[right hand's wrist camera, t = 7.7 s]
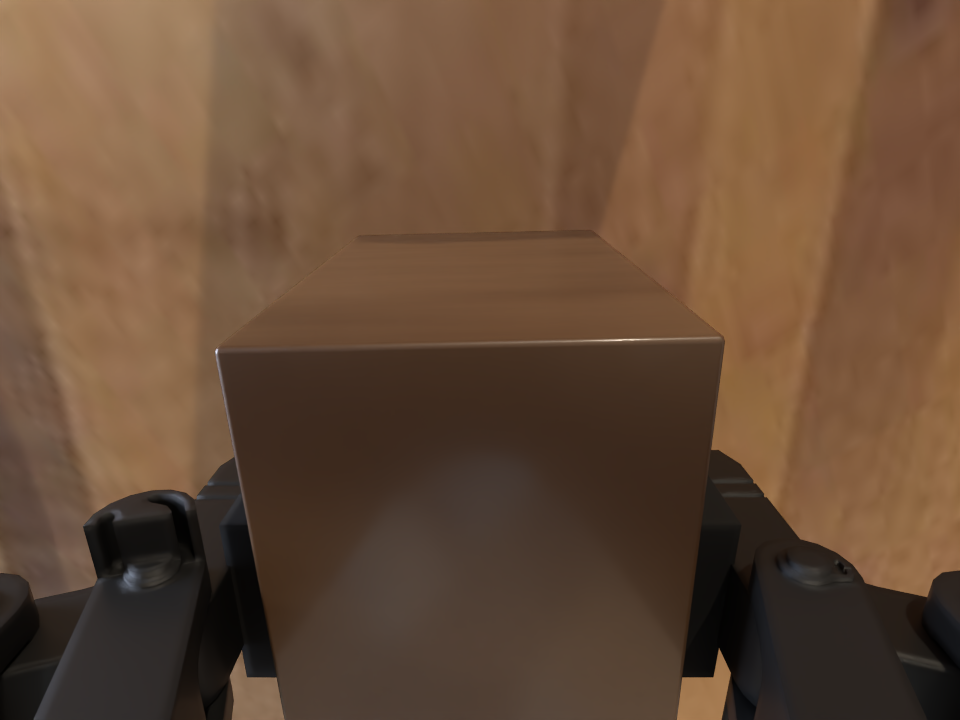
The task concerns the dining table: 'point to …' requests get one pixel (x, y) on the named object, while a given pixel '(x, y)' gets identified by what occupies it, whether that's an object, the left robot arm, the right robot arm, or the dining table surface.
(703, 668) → the right robot arm
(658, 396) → the beam
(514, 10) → the dining table surface
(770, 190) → the dining table surface
